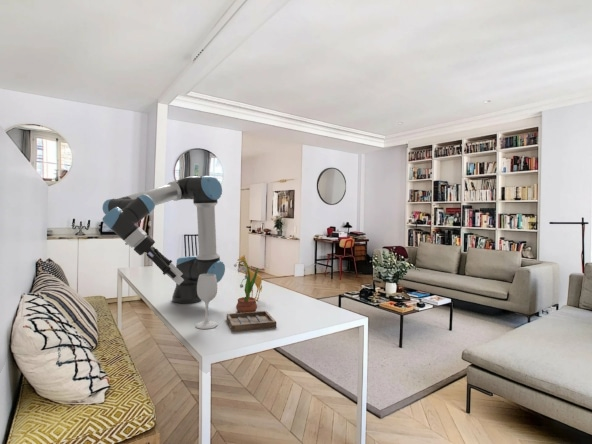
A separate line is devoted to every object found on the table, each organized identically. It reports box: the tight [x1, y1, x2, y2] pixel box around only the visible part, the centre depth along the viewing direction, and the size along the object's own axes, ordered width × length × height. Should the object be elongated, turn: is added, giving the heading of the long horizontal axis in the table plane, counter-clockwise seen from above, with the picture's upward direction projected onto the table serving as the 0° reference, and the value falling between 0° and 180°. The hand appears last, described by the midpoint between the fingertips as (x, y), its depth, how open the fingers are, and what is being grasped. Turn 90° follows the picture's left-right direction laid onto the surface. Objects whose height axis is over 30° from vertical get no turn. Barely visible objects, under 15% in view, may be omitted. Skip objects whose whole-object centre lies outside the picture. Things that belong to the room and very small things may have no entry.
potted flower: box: [233, 259, 259, 313], centre depth 160 cm, size 12×10×25 cm
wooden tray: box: [225, 310, 277, 333], centre depth 143 cm, size 16×18×2 cm
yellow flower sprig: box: [237, 254, 263, 302], centre depth 178 cm, size 16×4×25 cm, turn 135°
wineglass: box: [195, 274, 218, 330], centre depth 138 cm, size 9×9×21 cm
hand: (181, 279), depth 135 cm, fingers open, 13 cm apart
